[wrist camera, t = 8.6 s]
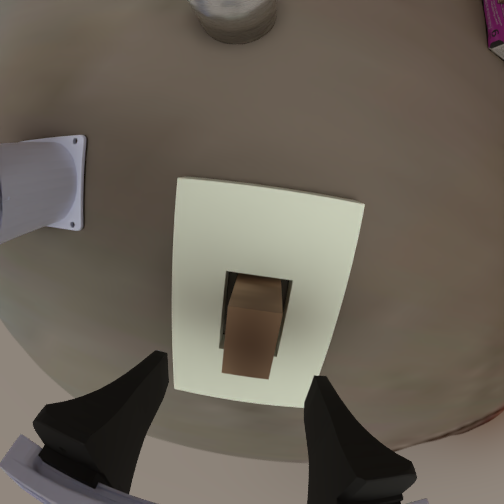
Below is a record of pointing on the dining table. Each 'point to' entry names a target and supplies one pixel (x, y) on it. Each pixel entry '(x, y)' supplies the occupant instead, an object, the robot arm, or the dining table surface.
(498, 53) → the candy bar box
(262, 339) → the walnut bar
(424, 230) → the dining table surface
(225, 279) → the socket plate
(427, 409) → the dining table surface
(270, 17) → the grey round peg
